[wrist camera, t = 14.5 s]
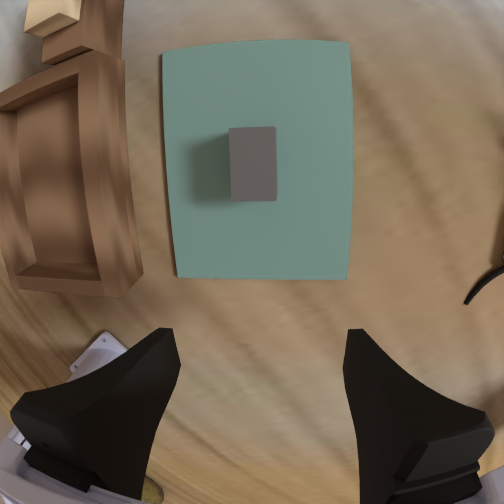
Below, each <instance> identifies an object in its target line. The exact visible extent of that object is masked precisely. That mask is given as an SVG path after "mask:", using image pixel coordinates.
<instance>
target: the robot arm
mask: <svg viewBox="0 0 504 504" xmlns="http://www.w3.org/2000/svg"><path fill="white" fill-rule="evenodd" d="M180 367H181V363H180V359H179V355H178V351H177V347H176V342H175V338H174V334H173V329H172V328H158V329H156V330H155V331H153V332H152V333H151V334H149V335H148V336H146V337H145V338H144V339H142V340H141V341H140V342H138V343H137V344H136V345H134V346H133V347H131V348H130V349H129V350H127V349H126V348H125V347H124V346H123V345H122V344H121V343H119V342H118V341H117V340H116V339H115V338H114V337H113V336H112V335H111V334H110V333H109V332H107V331H104V332H103V333H102V334H101V335H100V336H99V337H98V338H97V339H96V340H95V341H94V342H93V343H92V344H91V345H90V346H89V347H88V348H87V349H86V350H85V352H84V353H83V354H82V355H81V356H80V357H79V358H78V359H77V360H76V361H75V362H74V363H73V364H72V365H71V366H70V370H71V372H72V373H73V374H72V375H71V377H70V378H69V379H68V381H67V382H66V383H64V384H61V385H58V386H54V387H51V388H46V389H42V390H37V391H31V392H25V393H24V394H23V396H22V397H21V398H20V399H19V401H18V402H17V403H16V404H15V406H14V407H13V408H12V409H11V411H10V415H11V419H12V421H13V423H14V425H13V426H12V427H11V429H10V430H9V431H8V433H7V434H6V436H5V437H4V439H3V440H2V441H1V443H0V495H1V497H2V499H3V501H4V502H3V504H151V503H147V502H143V501H141V498H142V491H143V484H144V479H145V474H146V469H147V464H148V460H149V455H150V451H151V447H152V444H153V440H154V437H155V433H156V430H157V427H158V425H159V422H160V420H161V418H162V415H163V413H164V411H165V408H166V406H167V404H168V402H169V399H170V397H171V395H172V392H173V390H174V388H175V385H176V382H177V378H178V375H179V371H180ZM343 375H344V383H345V390H346V394H347V398H348V403H349V407H350V411H351V415H352V419H353V423H354V428H355V433H356V438H357V448H358V460H359V478H360V504H504V466H502V467H499V468H497V469H495V470H493V471H490V472H488V473H486V474H484V475H483V476H481V477H480V478H479V477H478V474H477V471H479V470H480V465H479V463H478V459H479V458H480V457H481V456H482V454H483V453H484V452H485V451H486V449H487V448H488V447H489V445H490V444H491V442H492V440H493V438H494V435H495V432H494V429H493V427H492V425H491V423H490V421H489V419H488V417H487V415H486V413H485V412H484V411H481V410H478V409H475V408H472V407H468V406H465V405H463V404H460V403H458V402H456V401H453V400H451V399H449V398H447V397H445V396H443V395H441V394H439V393H437V392H436V391H434V390H432V389H430V388H429V387H427V386H425V385H424V384H422V383H421V382H420V381H418V380H417V379H415V378H414V377H413V376H411V375H410V374H409V373H407V372H406V371H405V370H404V369H403V368H401V367H400V366H399V365H398V364H397V363H396V362H394V361H393V360H392V359H391V358H390V357H389V356H388V355H387V354H386V353H385V352H384V351H383V350H382V349H381V348H380V347H379V346H378V345H377V343H376V342H375V341H374V340H373V339H372V338H371V337H370V336H369V335H368V334H367V333H366V332H365V331H364V330H363V329H348V334H347V342H346V349H345V356H344V363H343Z"/></svg>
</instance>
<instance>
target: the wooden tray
mask: <svg viewBox="0 0 504 504" xmlns="http://www.w3.org/2000/svg"><path fill="white" fill-rule="evenodd" d="M123 9H124V0H82V1H81V8H80V16H79V21H77V22H75V23H72V24H70V25H68V26H66V27H63V28H61V29H59V30H57V31H55V32H53V33H51V34H49V35H47V36H45V37H44V39H43V49H42V61H41V63H46V64H51V65H55V66H52V67H50V68H48V69H46V70H43V71H41V72H39V73H37V74H35V75H33V76H31V77H29V78H27V79H25V80H23V81H21V82H19V83H17V84H15V85H13V86H12V87H10V88H8V89H6V90H4V91H3V92H1V93H0V246H1V250H2V254H3V258H4V262H5V265H6V269H7V272H8V276H9V279H10V282H11V286H12V288H19V289H27V290H36V291H45V292H54V293H64V294H74V295H85V296H97V297H109V298H121V297H122V296H123V295H124V294H125V292H126V291H127V290H128V289H129V288H130V287H131V286H132V285H133V284H134V283H135V282H136V281H137V280H138V279H139V278H140V277H141V276H142V275H143V274H144V273H143V268H142V262H141V256H140V250H139V244H138V238H137V231H136V224H135V217H134V209H133V201H132V192H131V183H130V173H129V162H128V150H127V135H126V116H125V61H123V60H121V45H122V24H123Z"/></svg>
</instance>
